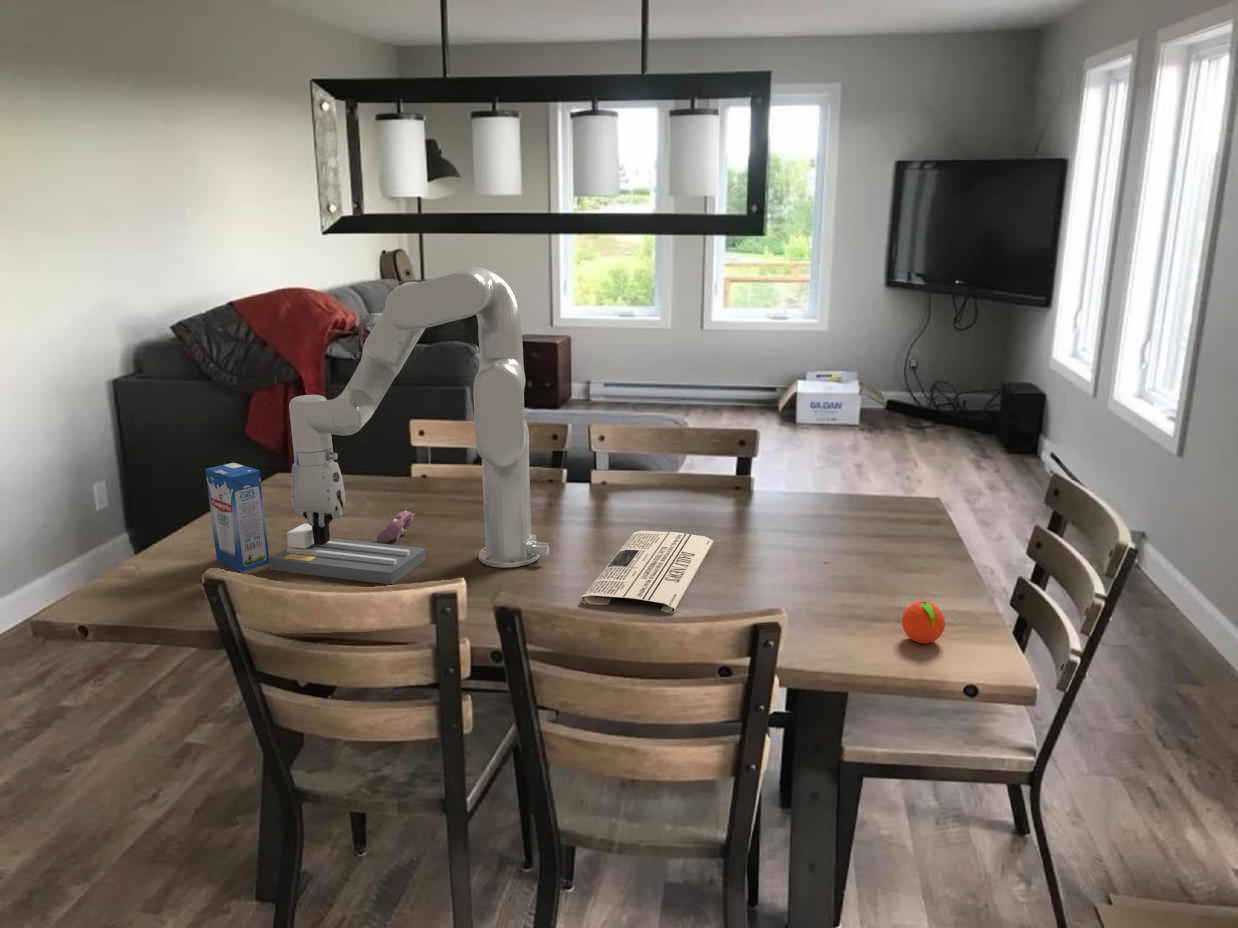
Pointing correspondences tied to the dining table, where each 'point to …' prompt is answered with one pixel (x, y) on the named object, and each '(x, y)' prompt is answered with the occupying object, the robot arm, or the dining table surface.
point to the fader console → (351, 560)
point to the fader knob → (300, 536)
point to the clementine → (923, 622)
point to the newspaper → (651, 569)
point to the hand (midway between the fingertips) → (322, 542)
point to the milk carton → (237, 516)
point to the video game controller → (396, 527)
